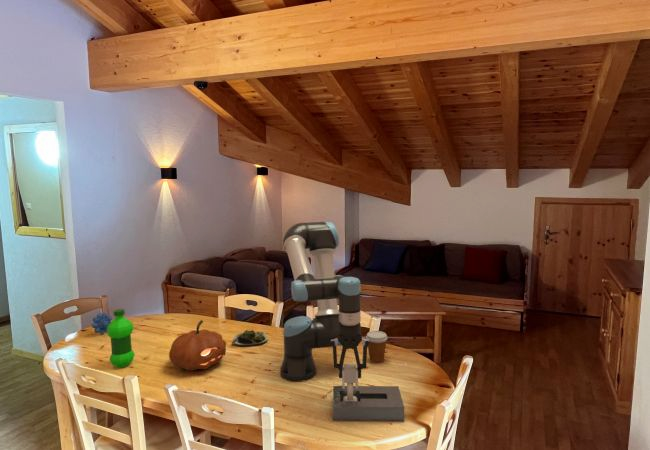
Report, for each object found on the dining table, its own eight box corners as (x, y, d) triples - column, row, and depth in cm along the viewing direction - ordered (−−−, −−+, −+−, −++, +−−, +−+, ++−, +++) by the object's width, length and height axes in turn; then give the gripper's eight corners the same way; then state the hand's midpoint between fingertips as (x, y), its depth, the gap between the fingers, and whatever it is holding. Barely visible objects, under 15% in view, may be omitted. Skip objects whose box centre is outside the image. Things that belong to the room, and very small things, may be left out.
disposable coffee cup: (386, 365, 181) (386, 339, 180) (364, 363, 183) (364, 337, 182) (387, 356, 191) (388, 331, 189) (367, 354, 192) (367, 329, 191)
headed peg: (343, 408, 145) (342, 369, 143) (343, 400, 150) (342, 363, 148) (357, 408, 145) (357, 369, 143) (356, 400, 150) (356, 363, 148)
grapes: (98, 339, 215) (96, 316, 213) (89, 337, 218) (88, 315, 216) (118, 331, 225) (116, 310, 224) (109, 329, 228) (107, 308, 227)
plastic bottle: (104, 368, 182) (100, 313, 179) (123, 358, 191) (119, 305, 188) (122, 371, 178) (118, 315, 175) (140, 361, 188) (137, 308, 185)
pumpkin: (213, 379, 170) (211, 335, 168) (157, 375, 174) (155, 332, 172) (236, 354, 195) (234, 315, 193) (186, 351, 199) (184, 313, 197)
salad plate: (231, 334, 220) (231, 326, 220) (265, 331, 224) (265, 323, 223) (231, 349, 201) (231, 340, 201) (268, 345, 205) (268, 336, 205)
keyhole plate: (332, 420, 141) (332, 406, 140) (333, 398, 155) (333, 385, 154) (404, 421, 140) (404, 407, 139) (398, 399, 154) (398, 386, 153)
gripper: (324, 326, 140) (325, 391, 143) (375, 326, 140) (375, 392, 142) (325, 318, 148) (326, 381, 151) (373, 318, 147) (373, 381, 150)
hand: (350, 386), depth 146 cm, fingers closed on headed peg, 4 cm apart
